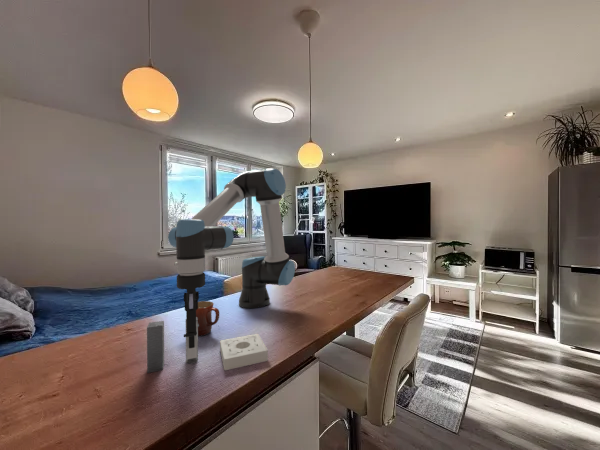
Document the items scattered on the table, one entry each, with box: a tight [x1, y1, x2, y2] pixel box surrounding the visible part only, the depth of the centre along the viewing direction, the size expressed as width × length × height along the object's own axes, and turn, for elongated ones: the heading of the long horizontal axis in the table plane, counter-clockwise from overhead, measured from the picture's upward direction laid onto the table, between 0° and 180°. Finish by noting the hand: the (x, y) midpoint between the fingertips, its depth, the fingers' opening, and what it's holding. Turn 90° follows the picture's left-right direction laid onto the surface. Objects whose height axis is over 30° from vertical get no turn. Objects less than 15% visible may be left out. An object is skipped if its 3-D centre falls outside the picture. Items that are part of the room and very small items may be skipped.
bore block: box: [219, 333, 269, 371], centre depth 74 cm, size 12×12×3 cm
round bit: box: [185, 317, 199, 365], centre depth 71 cm, size 3×3×12 cm
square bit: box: [146, 320, 165, 374], centre depth 68 cm, size 4×4×12 cm
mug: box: [196, 300, 220, 337], centre depth 89 cm, size 12×9×10 cm
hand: (191, 354), depth 71 cm, fingers closed on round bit, 3 cm apart
